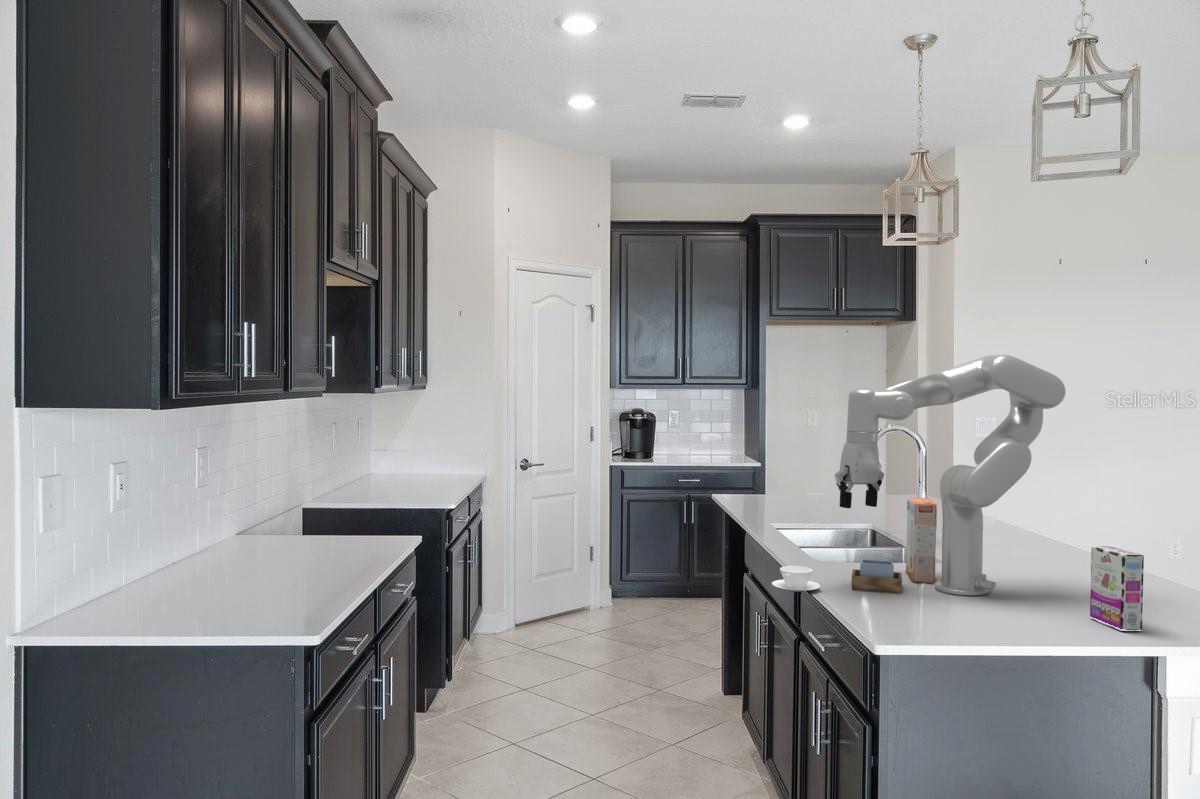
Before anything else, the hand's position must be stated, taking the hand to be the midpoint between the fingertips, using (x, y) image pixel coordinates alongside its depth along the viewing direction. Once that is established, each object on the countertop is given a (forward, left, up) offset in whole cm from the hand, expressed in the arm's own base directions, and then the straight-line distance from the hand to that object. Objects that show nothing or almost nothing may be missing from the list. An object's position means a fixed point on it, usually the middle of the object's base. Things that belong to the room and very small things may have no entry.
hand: (858, 506), depth 227 cm
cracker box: (+1, -27, -21) cm, 34 cm away
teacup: (+9, +12, -22) cm, 26 cm away
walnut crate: (-1, -7, -21) cm, 22 cm away
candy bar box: (-52, -22, -21) cm, 60 cm away
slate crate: (-1, -7, -21) cm, 22 cm away
